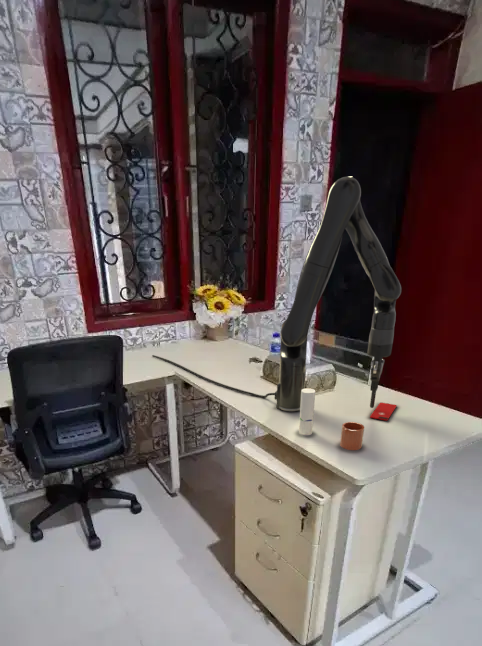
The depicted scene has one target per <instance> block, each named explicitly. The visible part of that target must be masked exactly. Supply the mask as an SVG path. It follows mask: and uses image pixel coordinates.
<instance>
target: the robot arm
mask: <svg viewBox="0 0 482 646" xmlns="http://www.w3.org/2000/svg"><path fill="white" fill-rule="evenodd" d="M328 190H329V191H328V193H327V200H326V205H325V209H324V213H323V216H322V220H321V223H320V226H319V228H318V231H317V233H316V235H315V237H314V239H313V240H312V242H311V245H310V247H309V249H308V252H307V254H306V256H305V259H304V261H303V265H302V268H301V271H300V274H299V277H298V281H297V286H296V289H295V295H294V300H293V304H292V306H291V308H290V311H289V313H288V315H287V318H286V319H285V320H284V321H283V323H282V325H281V328H280V333H279V334H280V350H279V374H278V383H277V384H276V387H277V388H276V391H274V392H269V393H265V395H260V394H257V393H254V392H250V391H246V390H243V389H239V388H236V387H233V386H231V385H230V386H229V385H227V384H223V383H220V382H218V381H216V380H213V379H210V378H208V377H205V376H203V375H202V374H200V373H197V372H195V371H193V370H191V369H189V368H187V367H185V366H183V365H181V364H178V363H176V362H174V361H172V360H169V359H168V358H164V357H161V356H158V355H154V354H152V355H151V357H153V358H155V359H158V360H163V361H164V362H168V363H170V364H173V365H175V366H176V367H179V368H181V369H183V370H185V371H187V372H188V373H191V374H193V375H195V376H196V377H199V378H201V379H203V380H205V381H208V382H211V383H213V384H215V385H218V386H221V387H224V388H226V389H228V390H229V389H230V390H233V391H236V392H239V393H243V394H246V395H249V396H253V397H257V398H261V399H266V398H268V397H269V396H274V400H275V401H276V409H279V410H281V411H283V412H289V413H290V412H293V413H294V412H298V411H299V412H300V405H301V390H302V389H305V383H306V381H305V380H306V367H307V353H308V352H307V349H308V334H309V331H310V326H311V322H312V319H313V315H314V312H315V310H316V308H317V305H318V304H319V301H320V299H321V297H322V295H323V293H324V291H325V289H326V287H327V284H328V283H329V280H330V277H331V274H332V272H333V269H334V266H335V263H336V260H337V257H338V255H339V251H340V248H341V247H340V246H341V243H342V239H343V236H344V233H345V230H346V232H347V234H348V236H349V238H350V241H351V243H352V245H353V248H354V251H355V252H356V255H357V257H358V260H359V261H360V264H361V266H362V268H363V269H364V271H365V273H366V275H367V276H368V278H369V280H370V282H371V283H372V286H373V288H374V295H373V314H372V318H371V319H372V320H371V327H370V332H369V336H368V344H367V352H366V355H368V356H369V357H373V358H372V360H371V361H370V378H369V379H370V381H371V382H370V389H369V390H370V391H371V392H372V391H376V392H377V391H378V388H379V382H380V378H381V375H382V373H383V368H384V365H385V359H384V358H388V357H390V356H391V355H392V351H393V344H394V338H395V337H394V336H395V324H396V319H397V318H396V317H397V312H396V302H397V300H398V299H399V297H400V296H401V294H402V285H401V283H400V280H399V278H398V277H397V275H396V274H395V272H394V270H393V268H392V267H391V265H390V262H389V259H388V257H387V254H386V252H385V250H384V248H383V247H382V244H381V242H380V240H379V238H378V236H377V235H376V233H375V232H374V230H373V229H372V227H371V225H370V223H369V221H368V219H367V217H366V215H365V212H364V209H363V207H362V206H363V205H362V203H361V197H362V188H361V185H360V183H359V181H358V180H357V179H356V178H354V177H353V176H343V177H341V178H338V179H336V181H335V182H333V183H332V185H331V186H330V188H329V189H328Z"/></svg>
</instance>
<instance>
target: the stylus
mask: <svg viewBox="0 0 482 646" xmlns="http://www.w3.org/2000/svg"><path fill="white" fill-rule="evenodd" d="M370 394H371V395H370V400H369V401H370V402H369V408H370V409H373V408H374V407H375V402H376V395H377V391H371V393H370Z"/></svg>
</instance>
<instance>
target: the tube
mask: <svg viewBox="0 0 482 646" xmlns="http://www.w3.org/2000/svg"><path fill="white" fill-rule="evenodd" d="M315 401H316V389H314V388H310V387H309V388H307V387H306V388H305V387H304V389H302V390H301V405H300V410H299V420H298V421H299V422H298V423H299V424H298V434H299V435H302V436H310V435H312V434H313V427H314V415H315V414H314V413H315Z"/></svg>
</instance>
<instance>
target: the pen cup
mask: <svg viewBox="0 0 482 646" xmlns="http://www.w3.org/2000/svg"><path fill="white" fill-rule="evenodd" d="M364 433H365V426H364V424H362V423H360V422H356V421H346V422H344V423H342V425H341V431H340V440H339V441H340V442H339V446H340V447H341V448H342V449H344V450H347V451H359V450H361V449H362V447H363V442H364V441H363V440H364Z"/></svg>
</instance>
